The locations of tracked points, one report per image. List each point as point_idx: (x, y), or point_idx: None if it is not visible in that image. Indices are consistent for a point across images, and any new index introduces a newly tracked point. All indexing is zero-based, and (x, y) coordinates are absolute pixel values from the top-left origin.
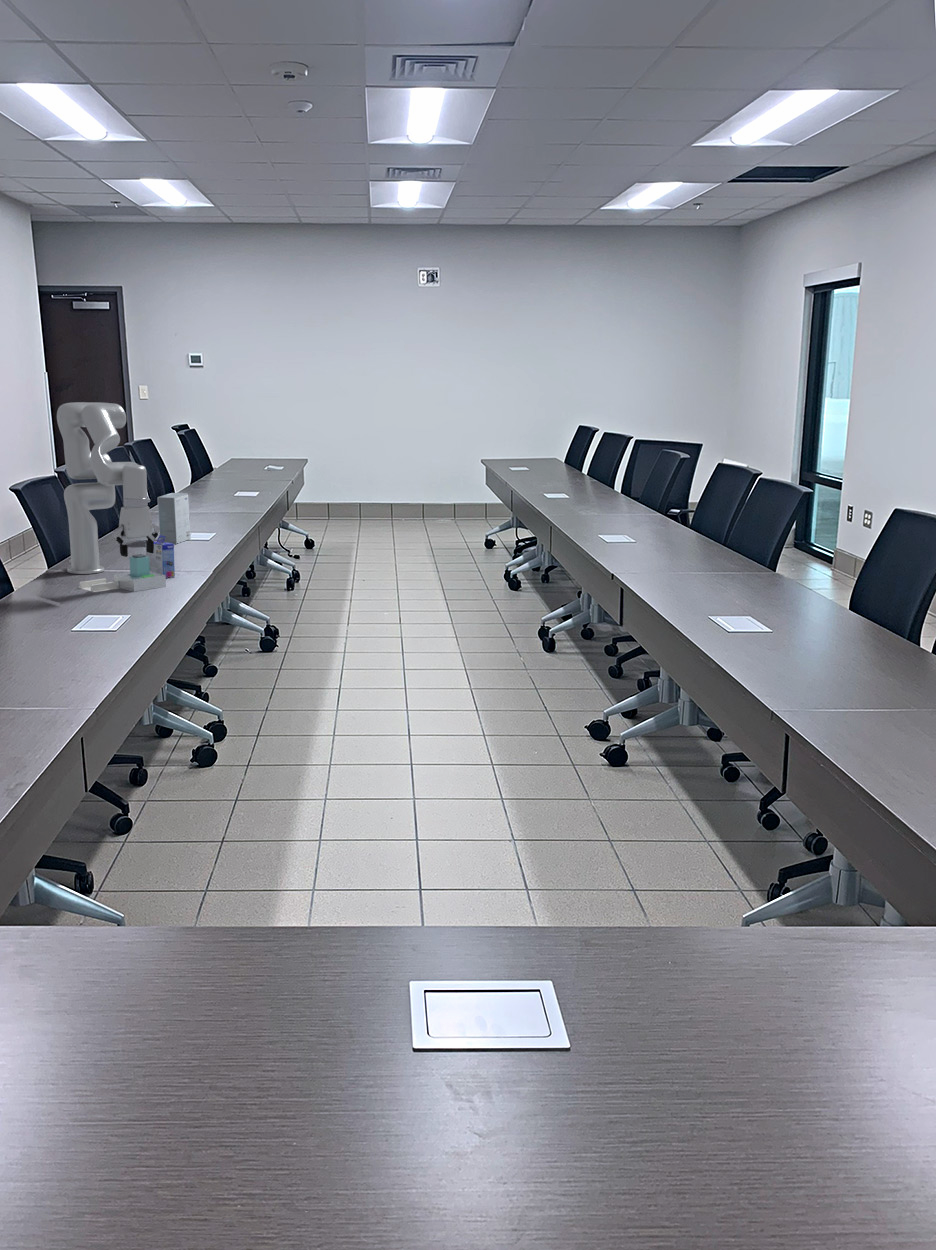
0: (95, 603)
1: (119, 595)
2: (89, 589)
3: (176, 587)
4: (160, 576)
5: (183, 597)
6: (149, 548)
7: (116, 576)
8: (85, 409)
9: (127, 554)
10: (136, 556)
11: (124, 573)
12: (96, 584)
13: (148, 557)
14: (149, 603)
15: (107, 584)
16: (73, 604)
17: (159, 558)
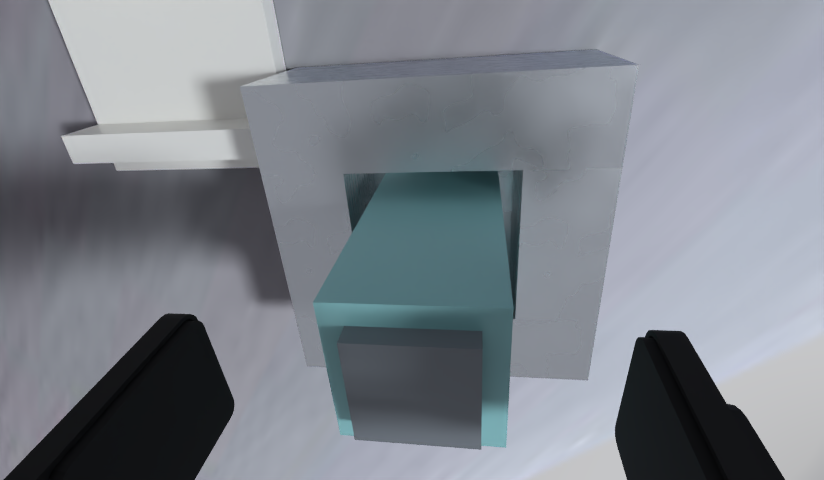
0: (109, 336)
1: (261, 263)
2: (94, 63)
3: (667, 294)
4: (537, 373)
5: (498, 477)
6: (645, 461)
7: (258, 141)
8: None
9: (220, 428)
10: (353, 418)
11: (352, 107)
12: (105, 145)
13: (497, 443)
14: (316, 465)
15: (193, 158)
16: (10, 291)
17: None
